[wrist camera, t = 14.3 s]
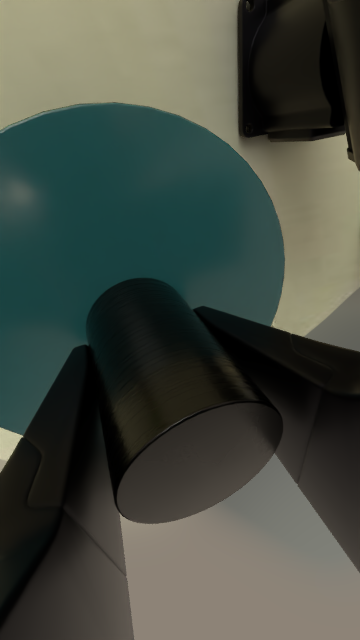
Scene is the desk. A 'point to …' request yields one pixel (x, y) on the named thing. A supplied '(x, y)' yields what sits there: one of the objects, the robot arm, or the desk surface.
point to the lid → (139, 295)
